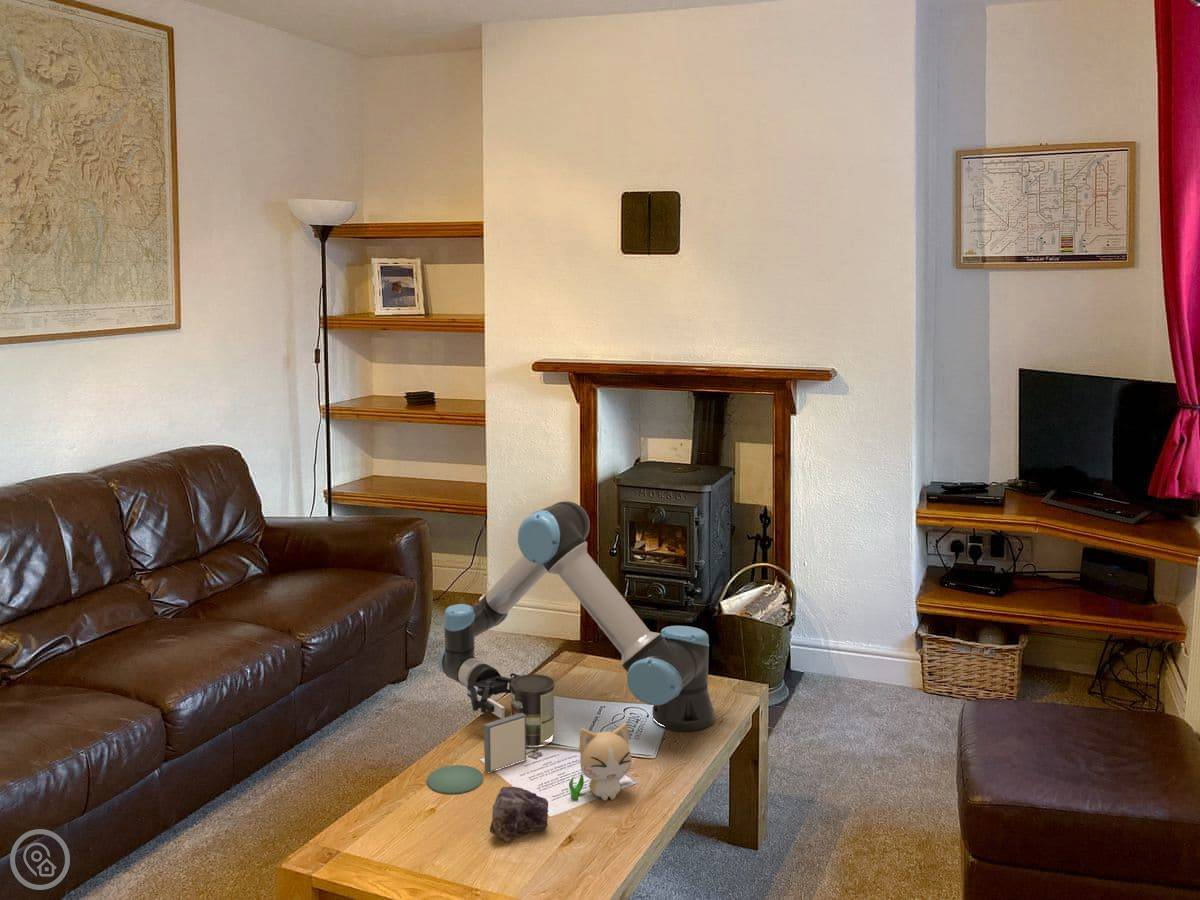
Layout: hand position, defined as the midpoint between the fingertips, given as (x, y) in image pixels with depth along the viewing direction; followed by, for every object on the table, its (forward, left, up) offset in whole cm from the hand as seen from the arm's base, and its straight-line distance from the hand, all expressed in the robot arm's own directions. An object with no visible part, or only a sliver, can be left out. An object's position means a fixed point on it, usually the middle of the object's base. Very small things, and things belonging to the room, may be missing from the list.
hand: (527, 705), depth 262 cm
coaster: (-2, +26, -8) cm, 27 cm away
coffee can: (-2, 0, -8) cm, 8 cm away
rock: (-26, +33, -8) cm, 43 cm away
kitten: (-31, +11, -8) cm, 34 cm away
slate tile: (-6, +14, -8) cm, 17 cm away
